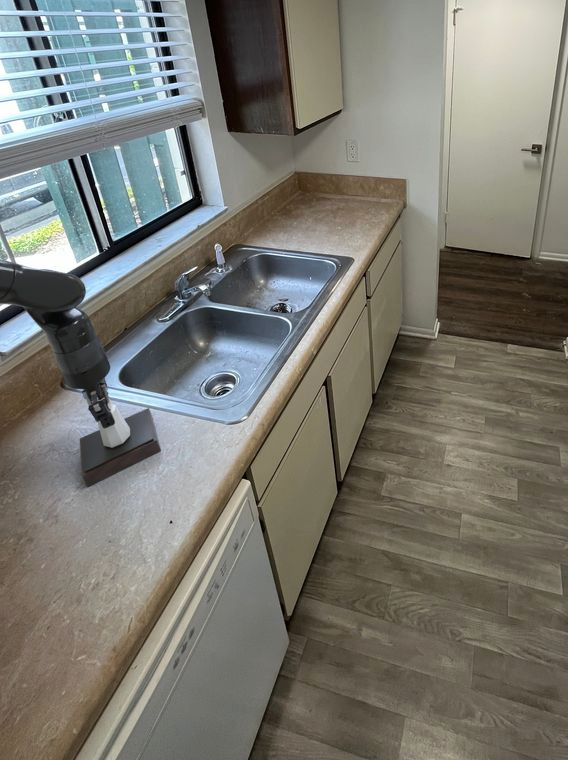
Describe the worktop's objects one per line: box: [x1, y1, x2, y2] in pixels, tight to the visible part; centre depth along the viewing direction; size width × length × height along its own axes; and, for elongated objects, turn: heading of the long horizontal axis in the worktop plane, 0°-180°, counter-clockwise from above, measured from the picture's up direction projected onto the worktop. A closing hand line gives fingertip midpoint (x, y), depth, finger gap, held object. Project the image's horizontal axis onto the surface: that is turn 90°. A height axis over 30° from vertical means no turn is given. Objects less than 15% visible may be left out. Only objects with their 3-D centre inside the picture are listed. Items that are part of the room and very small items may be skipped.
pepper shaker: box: [97, 398, 130, 448], centre depth 95 cm, size 5×5×11 cm
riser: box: [79, 407, 162, 488], centre depth 98 cm, size 14×11×4 cm
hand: (108, 418), depth 94 cm, fingers closed on pepper shaker, 3 cm apart
